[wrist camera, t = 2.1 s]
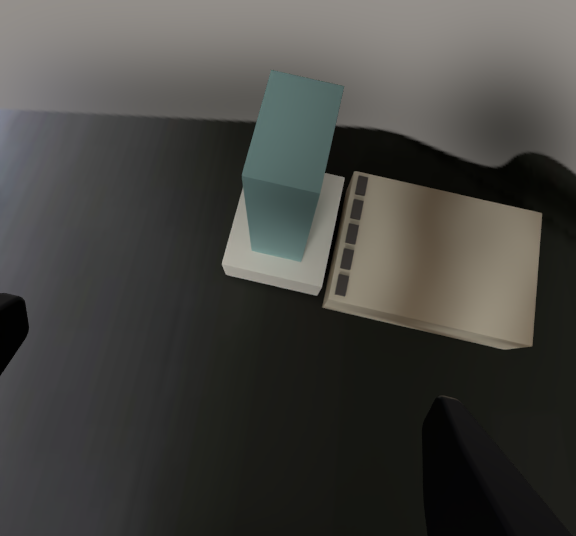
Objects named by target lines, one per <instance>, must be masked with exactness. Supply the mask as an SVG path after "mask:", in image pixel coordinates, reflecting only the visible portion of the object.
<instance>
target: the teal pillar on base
mask: <svg viewBox="0 0 576 536" xmlns="http://www.w3.org/2000/svg"><path fill="white" fill-rule="evenodd" d="M343 89H344V86H341V85H337V84H332V83H328V82H323V81H319V80H314V79H309V78H305V77H300V76H296V75H292V74H287V73H283V72H278V71H274V70H271V73H270V76H269V80H268V84H267V87H266V91H265V94H264V98H263V101H262V105H261V109H260V112H259V116H258V119H257V123H256V126H255V130H254V133H253V137H252V141H251V144H250V148H249V151H248V155H247V158H246V162H245V166H244V169H243V173H242V182H243V189H242V193H241V196H240V200H239V204H238V207H237V211H236V214H235V218H234V222H233V225H232V229H231V232H230V236H229V240H228V243H227V247H226V250H225V254H224V258H223V261H222V266H223V268H224V271H225V273H226V275H229V276H233V277H238V278H242V279H246V280H251V281H255V282H259V283H264V284H268V285H272V286H277V287H281V288H285V289H290V290H294V291H298V292H303V293H307V294H311V295H316V296H317V295H318V293H319V291H320V290H321V288H322V284H323V280H324V275H325V270H326V265H327V261H328V256H329V251H330V246H331V241H332V237H333V232H334V227H335V222H336V218H337V213H338V208H339V203H340V199H341V194H342V189H343V184H344V180H345V177H340V176H336V175H332V174H327V173H325V170H326V165H327V161H328V156H329V152H330V147H331V143H332V138H333V134H334V130H335V125H336V121H337V116H338V112H339V107H340V103H341V98H342V94H343Z"/></svg>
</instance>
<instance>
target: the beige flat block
mask: <svg viewBox="0 0 576 536" xmlns="http://www.w3.org/2000/svg"><path fill="white" fill-rule="evenodd" d="M541 222H542V213H539V212H534V211H530V210H525V209H521V208H517V207H512V206H508V205H503V204H499V203H494V202H490V201H486V200H481V199H477V198H472V197H468V196H463V195H459V194H455V193H450V192H446V191H441V190H437V189H433V188H428V187H424V186H419V185H415V184H410V183H406V182H402V181H397V180H393V179H388V178H384V177H379V176H375V175H371V174H366V173H362V172H357V171H354V173H353V176H352V178H351V181H350V183H349V186H348V188H347V190H346V194H345V199H344V204H343V209H342V214H341V218H340V223H339V228H338V233H337V238H336V243H335V247H334V252H333V257H332V262H331V267H330V272H329V276H328V281H327V286H326V291H325V296H324V301H323V305H322V308H326V309H331V310H335V311H339V312H344V313H348V314H352V315H357V316H361V317H365V318H370V319H374V320H378V321H383V322H387V323H391V324H395V325H400V326H404V327H408V328H413V329H417V330H421V331H426V332H430V333H434V334H439V335H443V336H447V337H452V338H456V339H460V340H465V341H469V342H473V343H478V344H482V345H486V346H491V347H495V348H499V349H504V350H505V349H513V348H521V347H530V346H532V343H533V329H534V316H535V302H536V289H537V276H538V262H539V249H540V235H541Z"/></svg>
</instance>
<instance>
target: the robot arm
mask: <svg viewBox="0 0 576 536" xmlns="http://www.w3.org/2000/svg"><path fill="white" fill-rule="evenodd" d="M28 331H29V324H28V317H27V311H26V304H25V301H24V299H23V298H21V297H20V296H16V295H11V294H7V293H0V375H1V374H2V372H3V371H4V369H5V368H6V367H7V365H8V364H9V362H10V361H11V359H12V358H13V356H14V355H15V353H16V352H17V350H18V349H19V347H20V346H21V344H22V343H23V341H24V340H25V338H26V336H27V334H28ZM422 454H423V497H424V509H425V518H426V526H427V534H428V536H573V535H572V534H571V533H570V532H569V531H568V529H567V528H566V527H565V526H564V525H563V523H562V522H561V521H560V520H559V519H558V517H557V516H556V515H555V514H554V513H553V512H552V510H551V509H550V508H549V507H548V506H547V504H546V503H545V502H544V501H543V500H542V498H541V497H540V496H539V495H538V494H537V492H536V491H535V490H534V489H533V488H532V486H531V485H530V484H529V483H528V482H527V480H526V479H525V478H524V477H523V476H522V474H521V473H520V472H519V471H518V470H517V468H516V467H515V466H514V465H513V464H512V463H511V461H510V460H509V459H508V458H507V457H506V455H505V454H504V453H503V452H502V451H501V449H500V448H499V447H498V446H497V445H496V443H495V442H494V441H493V440H492V439H491V437H490V436H489V435H488V434H487V433H486V431H485V430H484V429H483V428H482V427H481V425H480V424H479V423H478V422H477V421H476V419H475V418H474V417H473V416H472V415H471V413H470V412H469V411H468V410H467V409H466V408H465V406H464V405H463V404H462V403H461V402H460V401H459V400H458V399H455V398H451V397H447V396H442V395H441V396H438V397H437V398H436V399H435V401H434V402H433V404H432V406H431V408H430V410H429V412H428V414H427V416H426V418H425V420H424V422H423V427H422Z"/></svg>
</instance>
